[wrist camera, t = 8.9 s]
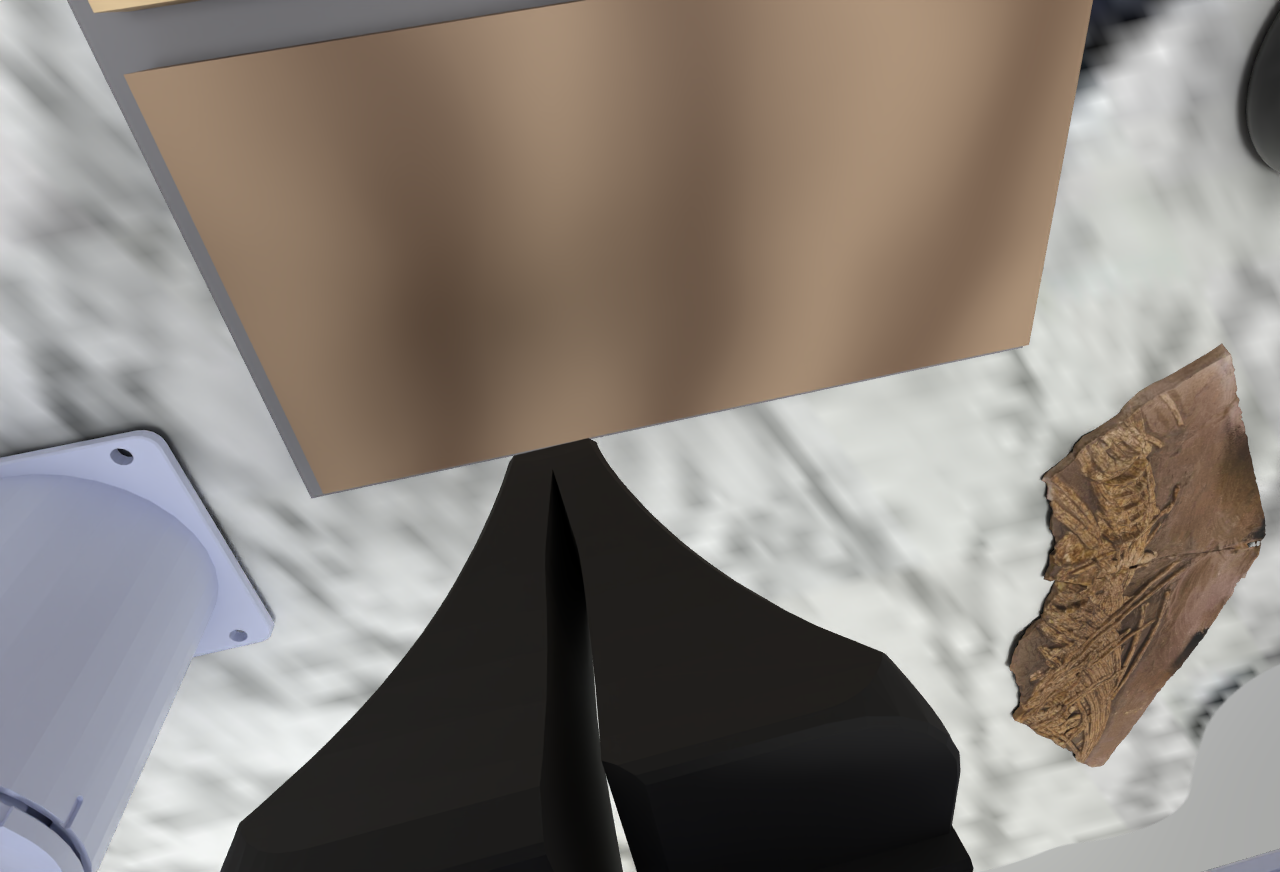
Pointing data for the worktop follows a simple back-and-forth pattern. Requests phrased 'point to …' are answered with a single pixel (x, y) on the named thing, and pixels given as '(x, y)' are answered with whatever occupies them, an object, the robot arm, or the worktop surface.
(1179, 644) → the wooden fragment
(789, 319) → the walnut floorboard
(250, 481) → the worktop surface
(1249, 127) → the supplement bottle
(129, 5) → the oak plank
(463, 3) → the underlay mat
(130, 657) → the robot arm
